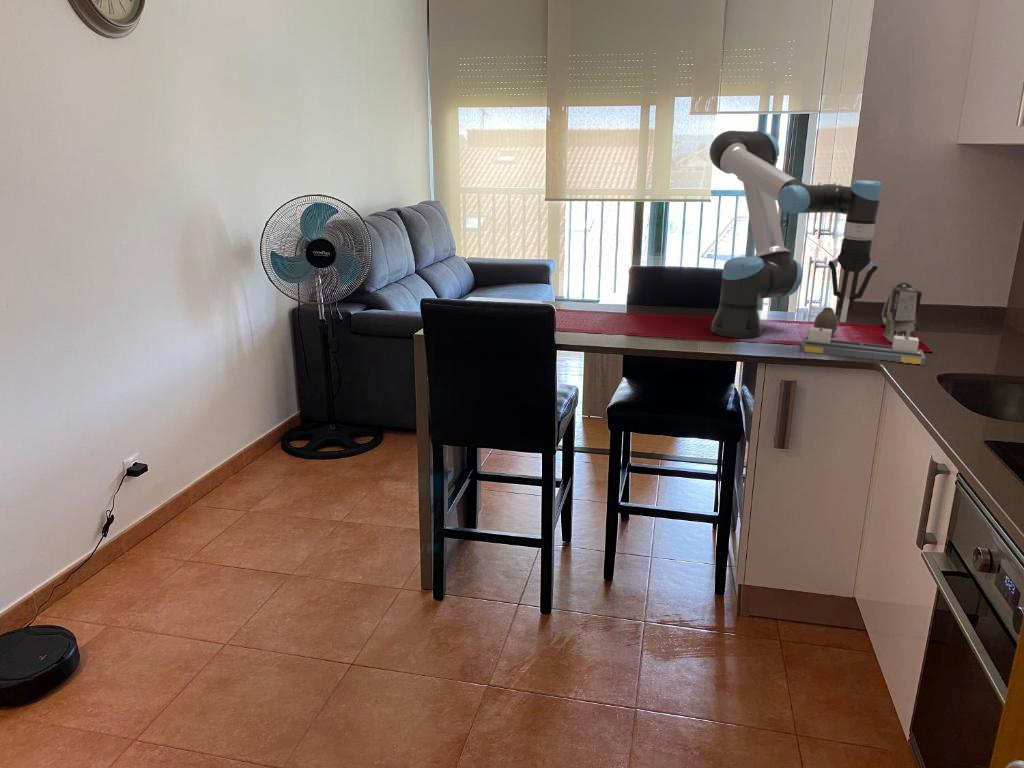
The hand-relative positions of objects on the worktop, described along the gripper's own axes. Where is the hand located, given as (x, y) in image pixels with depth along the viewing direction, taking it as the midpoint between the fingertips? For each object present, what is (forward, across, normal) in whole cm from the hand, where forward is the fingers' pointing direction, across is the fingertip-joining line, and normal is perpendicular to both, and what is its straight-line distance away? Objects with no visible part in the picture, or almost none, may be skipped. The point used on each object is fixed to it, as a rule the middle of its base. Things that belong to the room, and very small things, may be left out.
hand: (842, 321), depth 215 cm
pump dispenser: (+10, +18, +42) cm, 47 cm away
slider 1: (+7, -5, -1) cm, 9 cm away
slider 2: (+7, +17, 0) cm, 18 cm away
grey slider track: (+9, +6, -1) cm, 11 cm away
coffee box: (+9, +17, +22) cm, 30 cm away
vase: (+10, -4, +19) cm, 22 cm away
